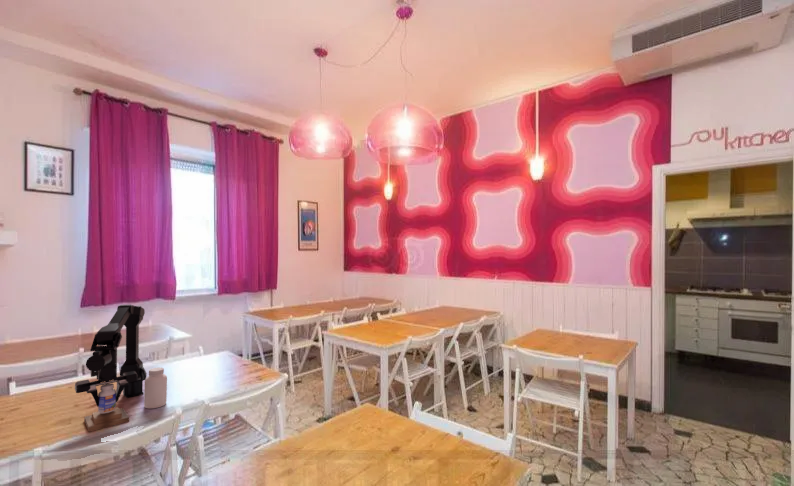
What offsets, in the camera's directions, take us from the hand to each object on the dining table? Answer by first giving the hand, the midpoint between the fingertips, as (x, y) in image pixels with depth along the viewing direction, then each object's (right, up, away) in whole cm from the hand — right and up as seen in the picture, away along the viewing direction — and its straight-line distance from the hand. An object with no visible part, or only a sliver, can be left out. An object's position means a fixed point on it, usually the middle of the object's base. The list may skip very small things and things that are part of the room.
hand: (107, 404), depth 146 cm
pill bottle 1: (0, -3, 0) cm, 3 cm away
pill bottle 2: (+9, -7, +15) cm, 19 cm away
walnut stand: (0, -6, 0) cm, 6 cm away
